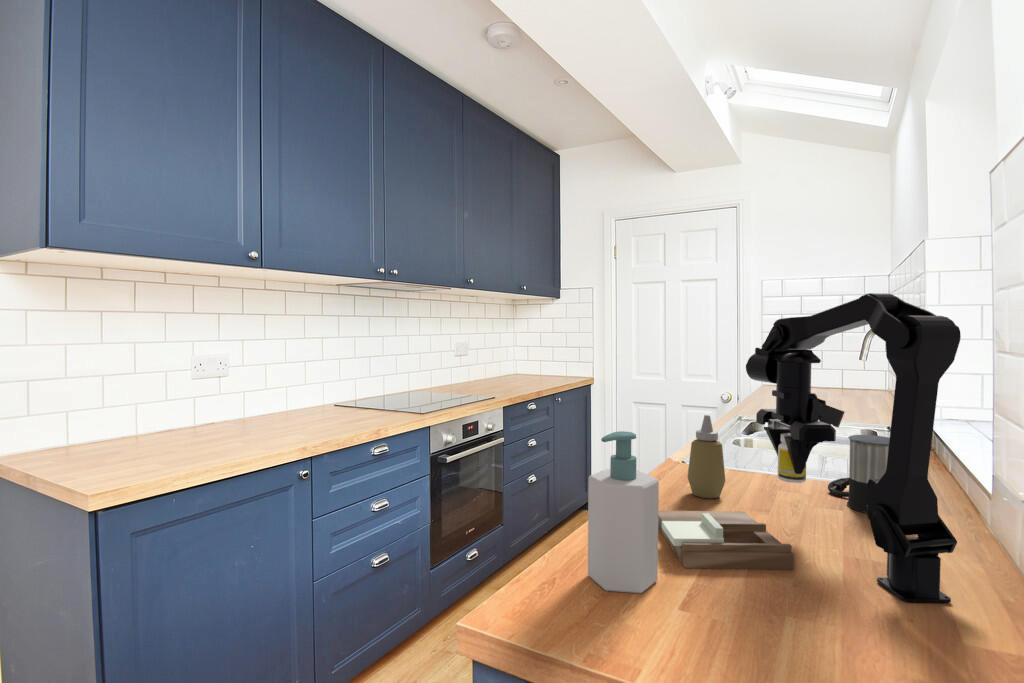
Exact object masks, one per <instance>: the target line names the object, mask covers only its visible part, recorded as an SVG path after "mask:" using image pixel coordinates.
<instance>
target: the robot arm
mask: <svg viewBox="0 0 1024 683" xmlns="http://www.w3.org/2000/svg"><path fill="white" fill-rule="evenodd" d="M866 325H868V326H869V327H870V330H871V331H872V333H873V334H875V335H876V336H877V337H878V338H879V339H881V340H883V341H884V342H885V352H886V353H885V356H886V359H887V361H888V363H889V364H890V367H891V369H892V370H893V373H894V374H895V384H894V385H895V386H894V395H893V403H892V414H891V423H890V431H889V432H890V433H889V438H890V439H889V449H888V458H887V467H886V472H885V473H884V475H883V476H882V477H881V478H880V479H869V481H868V483H867V498H866V501H865V502H864V505H865V506H867V505H868V507H867V513H866V515H867V519H868V521H869V524H870V528H871V531H872V536H873V539H874V543H875V547H878V548H880V549H882V550H883V552H885V553H886V555H887V556H886V557H887V558H886V577H876V582H877V583H879V584H880V585H882V586H883V587H884V588H885V589H886V590H888V591H890V592H891V593H892V594H894V595H895V596H896V597H898V598H899V599H900V600H902V601H903V602H907V603H908V602H909V603H910V602H911V603H951V602H952V598H951V597H950V596H948V595H946V594H945V593H943V592H942V591H941V590H940V588H941V564H942V563H941V560H942V559H941V557H940V556H939V554H945V553H946V554H952V553H954V550H955V549H956V546H957V544H958V541H957V539H956V537H955V535H954V534H953V533H952V532H951V530H950V529H949V527H948V526H947V524H945V521H944V520H943V519H942V518H941V516H940V515H939V507H938V505H939V503H938V497H937V494H936V492H935V490H934V489H933V486H932V484H931V483H930V481H929V477H928V476H929V468H930V459H931V452H932V450H931V449H932V441H933V435H934V434H933V433H934V425H935V416H936V409H937V398H938V392H939V385H940V384H939V382H940V380H941V378H942V377H943V376H944V374H946V372H947V370H949V368H950V367H951V365H952V364H953V363H954V361H955V358H956V356H957V352H958V348H959V346H960V342H961V338H962V337H961V330H960V327H959V326H958V325H956V324H955V322H954V321H953V320H952V319H950V318H949V317H947V316H944V315H936V314H934V313H933V312H931V311H929V310H926V309H924V308H921V307H920V306H916V305H913V304H911V303H908V302H906V301H904V300H903V299H902V298H900V297H898V296H895V295H894V294H892V293H875V292H874V293H871V292H870V293H865V294H864V295H861V296H860V297H859V298H856V299H853V300H850V301H848V302H845V303H843V304H840V305H836V306H834V307H830V308H829V309H826V310H823V311H820V312H817V313H814V314H812V315H807V316H795V317H794V316H793V317H785V318H784V317H783V318H779V319H777V320H775V321H774V322H773V326H772V327H771V329H770V331H769V333H768V335H767V337H766V339H765V341H764V342H763V344H762V345H761V347H755V349H754V351H755V352H754V353H753V354H752V355H751V356H750V357H749V358H748V359H747V361H746V364H745V371H746V373H747V376H748V377H749V378H750V379H751V380H753V381H756V382H763V383H769V384H775V385H776V389H775V390H774V389H772V390H771V396H773V397H775V401H776V402H775V408H760V409H759V410H758V411H757V412H756V416H755V417H756V423H757V424H760V425H761V426H762V425H766V423H767V426H763V430H764V431H765V432H766V434H767V436H768V439H769V441H770V442H771V445H772V447H773V448H774V451H775V453H776V455H777V457H778V446H779V444H781V443H782V442H781V440H780V439H781V434H783V433H790V434H791V436H784V438H785V442H786V445H787V448H788V452H789V455H790V459H791V462H792V465H793V468H794V471H795V473H796V474H802V472H803V470H804V467H805V465H806V466H807V462H808V460H809V456H810V454H811V452H812V450H813V448H814V447H815V446H816V445H818V444H819V443H824V442H836V437H837V431H836V430H837V429H839V427H840V425H841V422H842V420H843V418H844V414H845V411H843V410H841V409H838V408H836V407H833V406H831V405H827V401H826V400H825V399H821V398H819V397H818V395H817V394H816V393H814V392H812V364H820V363H821V361H822V360H821V359H820V358H819V356H817V355H816V354H815V353H814V352H813V350H812V349H814V348H816V347H818V346H819V345H821V344H823V343H824V342H825V341H826V339H827V338H829V337H831V336H833V335H836V334H840V333H844V332H846V331H847V332H848V331H850V330H854V329H857V328H860V327H863V326H866ZM835 428H837V429H835ZM913 535H915V536H916V535H917V536H916V537H915V536H914V537H907V536H913Z"/></svg>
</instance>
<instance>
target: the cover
mask: <svg viewBox="0 0 1024 683" xmlns="http://www.w3.org/2000/svg"><path fill="white" fill-rule="evenodd" d="M662 529H663V531H664V532H665V534H666V535H667V537H668V538H669V540H670V541H671V543H672V544H673V546H682V542H687V543H724V539H723V528H722V527H721V525H720V524H719V523H718V522H717V521H716V520H715V519H714V518H713V517H712V516H711V515H710V514H709V513H702V521H662Z"/></svg>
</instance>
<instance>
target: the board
mask: <svg viewBox="0 0 1024 683" xmlns="http://www.w3.org/2000/svg"><path fill="white" fill-rule="evenodd" d="M702 513H709V514H710V515H711V516H712V517H713V518H714V519H715V520H716V521H717V522H718V523H719V524H720V525H721V527H722V528H723V539H724V543H687V542H682V546H673V544H672V543H671V541H670V540H669V538H668V537H667V535H666V534H665V532H664V531H663V529H662V521H702ZM658 530H659V531H660V533H661V534H662V535H663V537H664V539H665V538H666V539H665V540H666V542H667V541H668V542H667V543H668V544H670V545H669V546H670V548H671V549H672V551H673V552H674V554H675V555H676V557H677V558H678V559H679V562H680V563H681V564H682V566H683V567H684V569H725V570H727V569H730V570H731V569H733V570H735V569H736V570H741V569H742V570H746V569H747V570H795V553H793V552H792V550H793V549H792V548H793V546H792V545H791V544H790V543H781V541H779V540H778V539H777V538H776V537H775V536H774V535H772V534H771V533H770V532H769V531H768V530H767V524H766V523H765V522H757V520H755V519H754V518H753V517H752V516H750V515H749V514H748V513H747V512H746V511H739V510H738V511H736V510H735V511H734V510H732V511H730V510H729V511H728V510H726V511H723V510H721V511H720V510H718V511H717V510H715V511H713V510H658Z"/></svg>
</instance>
